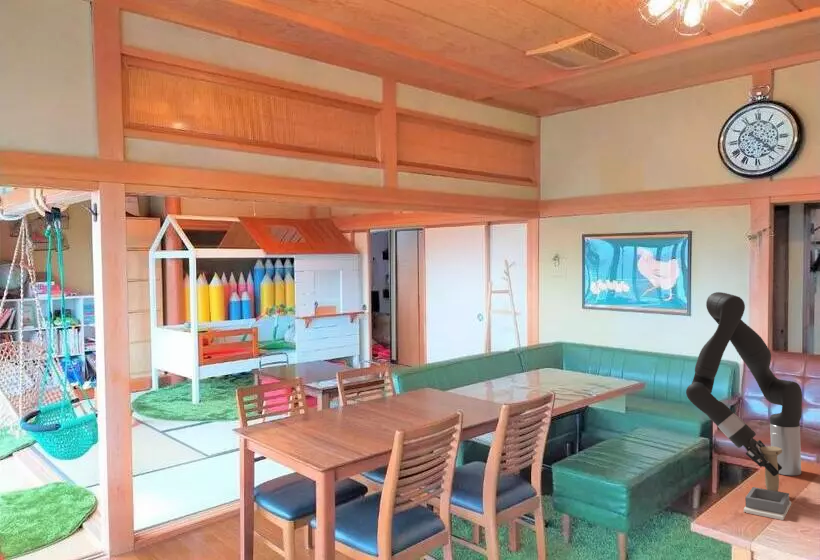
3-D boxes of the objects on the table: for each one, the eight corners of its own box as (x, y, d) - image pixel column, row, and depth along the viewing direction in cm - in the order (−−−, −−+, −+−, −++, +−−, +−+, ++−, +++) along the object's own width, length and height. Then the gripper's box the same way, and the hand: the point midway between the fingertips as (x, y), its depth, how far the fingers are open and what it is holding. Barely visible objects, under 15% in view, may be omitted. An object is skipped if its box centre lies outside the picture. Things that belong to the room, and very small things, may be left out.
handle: (786, 495, 197) (785, 449, 196) (770, 497, 195) (768, 451, 195) (774, 490, 201) (773, 445, 201) (758, 492, 200) (757, 447, 200)
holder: (753, 497, 196) (753, 485, 196) (791, 504, 189) (790, 491, 189) (743, 512, 184) (743, 499, 184) (783, 520, 178) (782, 506, 178)
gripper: (740, 428, 197) (783, 471, 190) (749, 419, 208) (791, 459, 201) (722, 441, 201) (765, 484, 193) (732, 432, 212) (773, 472, 204)
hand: (778, 471), depth 197 cm, fingers open, 5 cm apart
